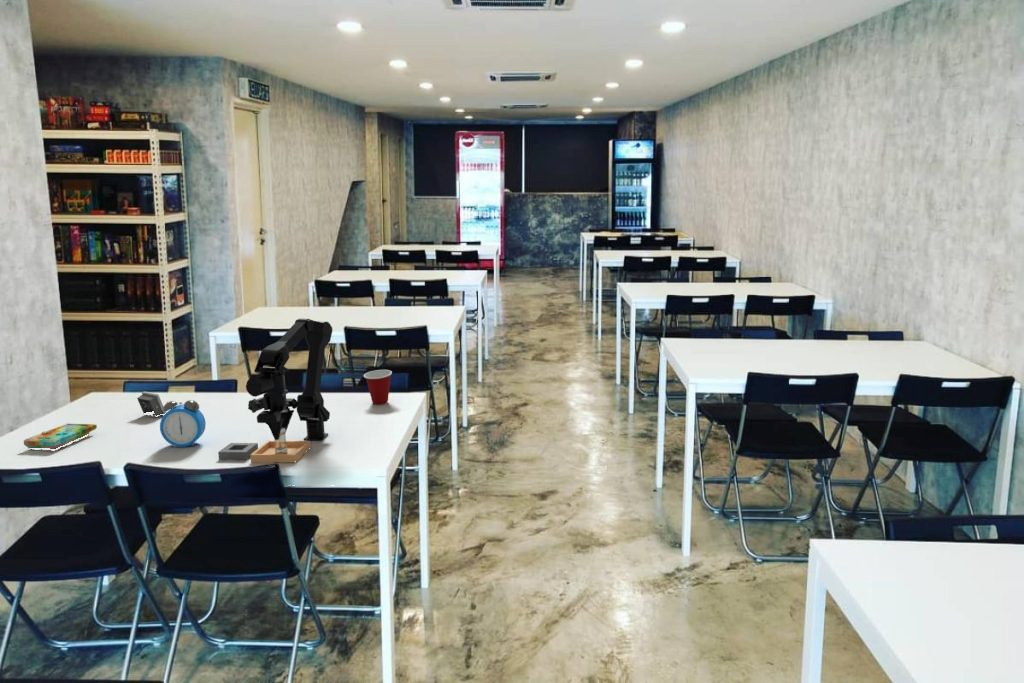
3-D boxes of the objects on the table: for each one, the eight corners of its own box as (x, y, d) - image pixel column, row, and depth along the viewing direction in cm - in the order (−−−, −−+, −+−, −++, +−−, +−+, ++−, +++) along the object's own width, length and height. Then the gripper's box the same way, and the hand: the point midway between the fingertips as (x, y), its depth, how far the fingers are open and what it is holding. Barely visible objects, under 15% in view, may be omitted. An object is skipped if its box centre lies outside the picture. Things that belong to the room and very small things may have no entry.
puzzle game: (23, 438, 272) (66, 421, 291) (25, 451, 273) (68, 433, 292) (54, 439, 269) (96, 422, 289) (55, 453, 270) (97, 435, 290)
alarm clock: (161, 448, 271) (156, 404, 268) (168, 442, 277) (163, 399, 274) (202, 446, 271) (197, 402, 269) (208, 441, 278) (203, 397, 275)
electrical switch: (167, 415, 310) (162, 392, 308) (155, 420, 306) (150, 397, 304) (152, 412, 315) (147, 389, 313) (140, 417, 311) (134, 394, 309)
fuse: (277, 450, 262) (275, 426, 261) (289, 450, 262) (287, 426, 260) (273, 454, 259) (270, 430, 257) (285, 454, 258) (282, 430, 257)
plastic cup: (359, 404, 319) (357, 373, 317) (381, 398, 327) (379, 368, 324) (377, 408, 312) (375, 377, 309) (399, 402, 320) (397, 371, 317)
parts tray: (268, 448, 268) (268, 440, 268) (310, 448, 266) (310, 440, 266) (251, 462, 254) (250, 454, 254) (295, 462, 253) (294, 455, 252)
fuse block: (231, 450, 267) (230, 442, 266) (258, 450, 266) (257, 443, 265) (218, 459, 258) (218, 452, 258) (246, 459, 257) (245, 452, 257)
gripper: (262, 381, 266) (267, 428, 269) (238, 396, 248) (242, 446, 251) (296, 381, 265) (300, 428, 268) (273, 396, 247) (278, 446, 250)
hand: (280, 436), depth 259 cm, fingers open, 5 cm apart
